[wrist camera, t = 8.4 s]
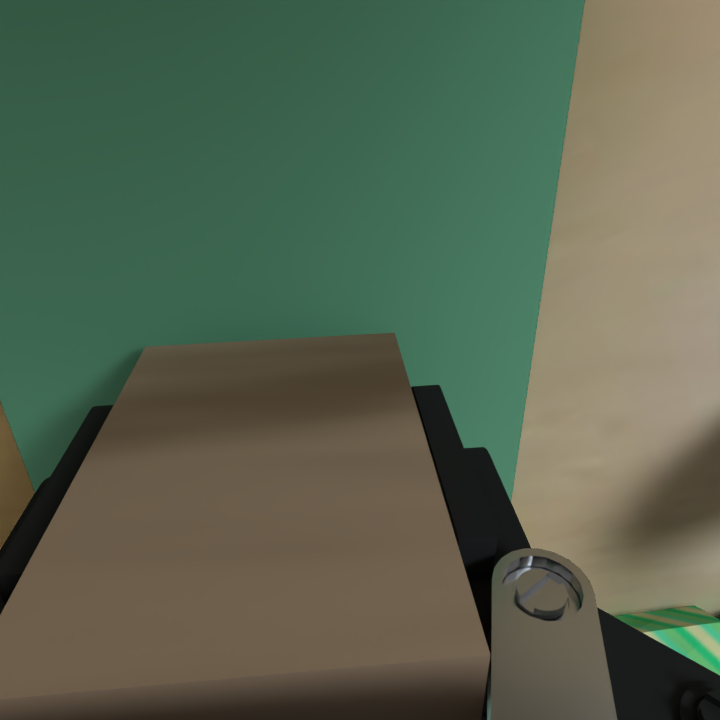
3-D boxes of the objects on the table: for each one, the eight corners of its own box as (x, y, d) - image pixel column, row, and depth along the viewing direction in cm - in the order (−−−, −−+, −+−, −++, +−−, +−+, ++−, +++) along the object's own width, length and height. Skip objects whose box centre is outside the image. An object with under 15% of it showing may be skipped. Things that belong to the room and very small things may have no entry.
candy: (506, 699, 24) (539, 758, 20) (494, 615, 24) (525, 656, 20) (783, 661, 24) (872, 710, 20) (767, 578, 24) (852, 611, 20)
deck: (-98, -149, 10) (-451, -327, 6) (542, -147, 11) (722, -300, 6) (162, 695, 23) (124, 868, 18) (455, 669, 24) (494, 827, 19)
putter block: (145, 346, 11) (-49, 703, 5) (394, 332, 12) (490, 655, 5) (195, 557, 14) (109, 944, 8) (393, 542, 14) (454, 903, 8)
